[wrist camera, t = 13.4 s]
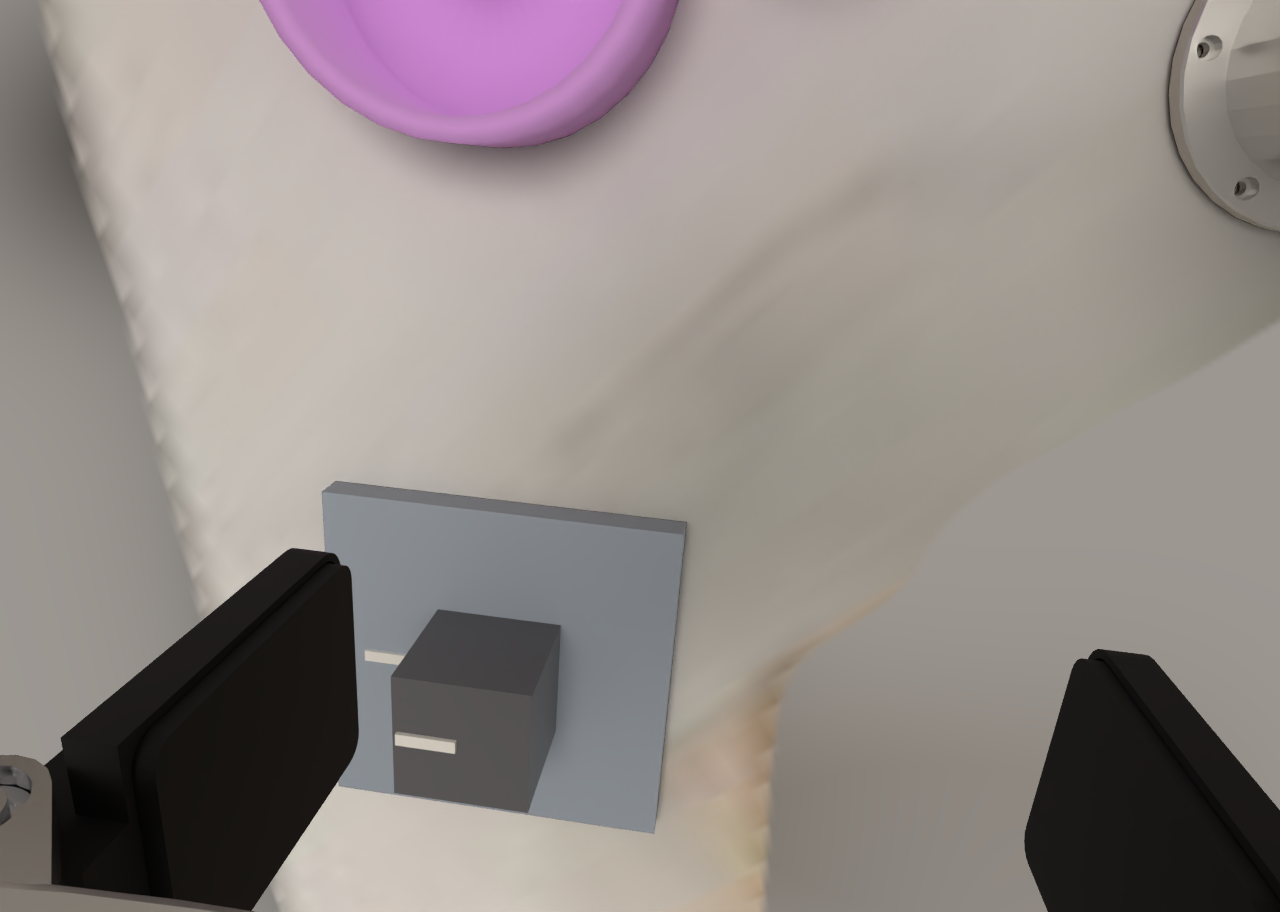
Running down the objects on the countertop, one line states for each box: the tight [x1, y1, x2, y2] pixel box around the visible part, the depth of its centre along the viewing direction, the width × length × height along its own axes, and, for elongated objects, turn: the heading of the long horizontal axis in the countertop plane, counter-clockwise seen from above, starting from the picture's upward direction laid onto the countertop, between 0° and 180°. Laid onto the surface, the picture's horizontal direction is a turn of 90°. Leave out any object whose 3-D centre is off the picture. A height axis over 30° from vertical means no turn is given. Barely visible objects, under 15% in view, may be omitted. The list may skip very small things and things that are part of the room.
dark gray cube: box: [391, 609, 561, 813], centre depth 40 cm, size 6×6×6 cm
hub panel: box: [322, 481, 687, 834], centre depth 42 cm, size 18×18×6 cm
